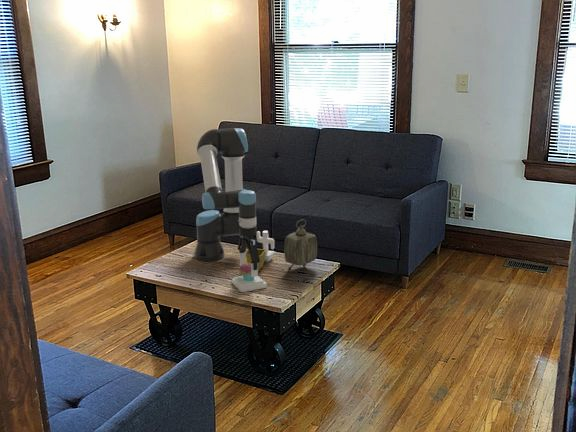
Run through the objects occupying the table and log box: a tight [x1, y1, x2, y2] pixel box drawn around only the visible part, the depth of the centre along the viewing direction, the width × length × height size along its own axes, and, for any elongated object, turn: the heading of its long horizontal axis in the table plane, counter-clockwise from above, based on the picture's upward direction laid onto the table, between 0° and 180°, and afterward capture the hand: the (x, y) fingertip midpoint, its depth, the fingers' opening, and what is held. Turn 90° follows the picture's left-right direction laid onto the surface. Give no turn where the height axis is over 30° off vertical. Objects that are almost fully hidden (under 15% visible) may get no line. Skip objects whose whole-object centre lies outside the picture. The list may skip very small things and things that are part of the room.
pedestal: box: [231, 275, 268, 293], centre depth 272 cm, size 12×12×3 cm
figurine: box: [256, 230, 276, 262], centre depth 302 cm, size 7×9×15 cm
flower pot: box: [246, 248, 266, 272], centre depth 290 cm, size 9×9×9 cm
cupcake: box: [238, 255, 255, 281], centre depth 270 cm, size 9×8×12 cm
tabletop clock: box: [283, 218, 318, 272], centre depth 287 cm, size 14×9×25 cm, turn 136°
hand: (248, 271), depth 270 cm, fingers open, 13 cm apart
